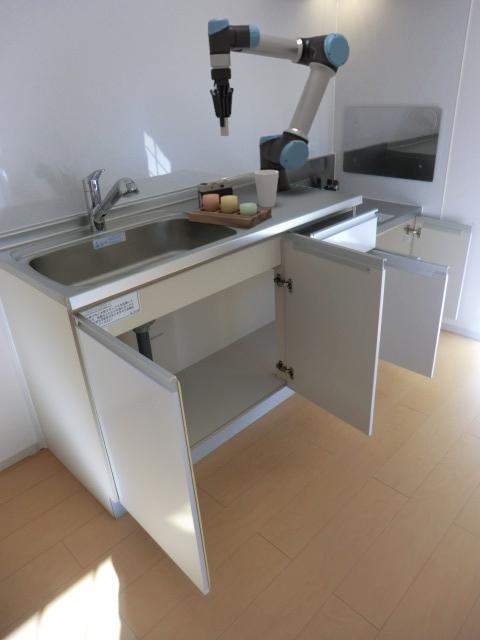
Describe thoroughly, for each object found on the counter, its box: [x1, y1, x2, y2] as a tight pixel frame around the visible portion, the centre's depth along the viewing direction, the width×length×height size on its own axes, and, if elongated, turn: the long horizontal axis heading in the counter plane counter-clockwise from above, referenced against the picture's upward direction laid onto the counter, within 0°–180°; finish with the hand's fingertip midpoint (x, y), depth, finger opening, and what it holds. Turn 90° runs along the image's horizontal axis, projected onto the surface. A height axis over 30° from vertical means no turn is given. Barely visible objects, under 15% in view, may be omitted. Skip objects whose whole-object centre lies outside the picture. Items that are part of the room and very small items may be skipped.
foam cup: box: [253, 170, 279, 208], centre depth 191 cm, size 10×9×13 cm
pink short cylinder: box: [203, 194, 220, 211], centre depth 179 cm, size 6×6×5 cm
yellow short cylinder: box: [221, 194, 239, 213], centre depth 176 cm, size 6×6×5 cm
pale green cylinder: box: [239, 202, 258, 216], centre depth 173 cm, size 6×6×5 cm
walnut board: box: [188, 204, 273, 229], centre depth 177 cm, size 16×26×3 cm, turn 58°
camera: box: [196, 179, 234, 209], centre depth 196 cm, size 14×8×10 cm, turn 120°
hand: (224, 135), depth 189 cm, fingers closed
